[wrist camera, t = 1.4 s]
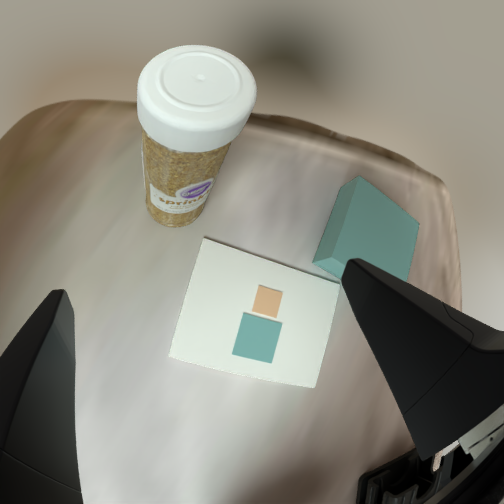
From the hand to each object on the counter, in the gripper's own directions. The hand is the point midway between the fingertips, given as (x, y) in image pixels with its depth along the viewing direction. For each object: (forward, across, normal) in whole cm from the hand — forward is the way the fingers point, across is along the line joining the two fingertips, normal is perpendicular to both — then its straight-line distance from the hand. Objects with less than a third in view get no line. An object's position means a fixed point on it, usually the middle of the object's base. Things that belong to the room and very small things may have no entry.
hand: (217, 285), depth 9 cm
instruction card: (+7, -6, +11) cm, 14 cm away
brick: (+11, -16, +8) cm, 21 cm away
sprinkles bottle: (+14, 0, +4) cm, 15 cm away
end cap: (-8, -18, +27) cm, 34 cm away
